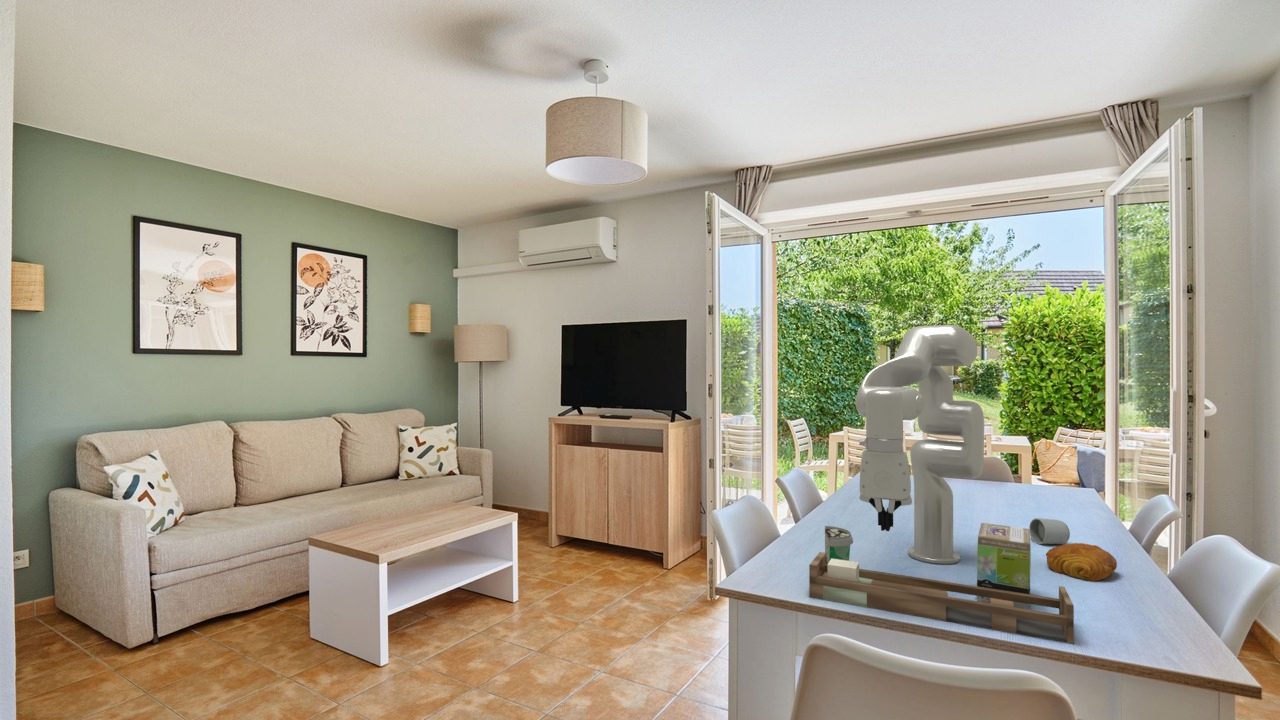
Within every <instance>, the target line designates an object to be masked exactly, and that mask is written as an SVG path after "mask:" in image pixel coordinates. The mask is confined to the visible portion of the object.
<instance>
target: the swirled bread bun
mask: <svg viewBox="0 0 1280 720" xmlns="http://www.w3.org/2000/svg"><path fill="white" fill-rule="evenodd" d="M1045 556H1046V565H1047V566H1048V568H1050V569H1051V570H1052V571H1053V572H1055V573H1057V574H1061V575H1067V576H1069V577H1071V578H1076V579H1080V580H1085V581H1089V582H1097V581H1100V580H1105V579H1106V578H1109V576H1111V574H1113V573H1114V572H1115V571H1116V569H1117V568H1118V567H1117V566H1118V561H1117V559H1116V557H1114V555H1112V554H1111V552H1108V551H1106V550H1104V549H1103V548H1101V547H1100V546H1098V545H1095V544H1093V545H1092V544H1088V543H1083V542H1081V543H1080V542H1079V543H1077V542H1075V543H1065V544H1060V545H1058V546H1054V547H1052V548H1050V549H1048V551H1047V552H1046V553H1045Z"/></svg>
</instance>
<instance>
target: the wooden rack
mask: <svg viewBox="0 0 1280 720" xmlns="http://www.w3.org/2000/svg"><path fill="white" fill-rule="evenodd" d="M808 569H809V571H808V572H809V573H808V574H809V575H808V579H809V580H808V582H809V585H808V586H809V587H808V589H809V592H808V593H809V595H808V596H809V597H808V598H813V599H818V600H824V601H825V600H826V601H832V602H836V603H842V604H848V605H854V606H858V607H863V608H869V609H870V608H871V609H874V610H875V609H876V610H882V611H887V612H891V613H892V612H893V613H898V614H904V615H910V616H915V617H920V618H926V619H932V620H938V621H944V622H949V623H955V624H960V625H966V626H971V627H977V628H983V629H988V630H994V631H1001V632H1005V633H1009V634H1010V633H1011V634H1015V635H1022V636H1026V637H1033V638H1039V639H1043V640H1044V639H1045V640H1049V641H1053V642H1054V641H1055V642H1060V643H1061V642H1062V643H1066V644H1072V645H1074V644H1075V623H1074V622H1075V621H1074V620H1075V618H1074V617H1075V616H1074V615H1075V614H1074V613H1075V609H1074V608H1075V607H1074V604H1073V601H1072V599H1071V597H1070V594H1069V593H1068V591H1067V589H1066V587H1065V586H1060V585H1058V598H1057V597H1050V596H1043V595H1036V594H1031V593H1030V594H1024V593H1018V592H1011V591H1004V590H998V589H991V588H984V587H978V586H977V585H970V584H964V583H957V582H950V581H944V580H938V579H930V578H925V577H924V578H923V577H916V576H910V575H904V574H897V573H890V572H884V571H876V570H870V569H863V568H859V581H858V582H855V581H849V580H843V579H836V578H830V577H828V564H826V553H825V552H821V551H820V552H819V553H818V554H817V555H815V558H814V559H813V560H812V561H811V562H810V564H809V567H808ZM948 592H949V593H950V592H952V593H957V594H962V595H963V594H964V595H970V596H976V597H977V596H982V597H988V598H990V603H986V602H980V601H977V600H973V599H967V598H960V597H954V596H948ZM1013 601H1014V602H1020V603H1026V604H1030V605H1034V606H1041V607H1047V608H1051V609H1052V608H1053V609H1058V613H1053V612H1047V611H1041V610H1035V609H1030V610H1029V609H1023V608H1017V607H1014V605H1013Z"/></svg>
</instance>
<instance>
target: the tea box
mask: <svg viewBox="0 0 1280 720" xmlns="http://www.w3.org/2000/svg"><path fill="white" fill-rule="evenodd" d="M976 552H977V556H976V557H977V558H976V559H977V564H976V565H977V567H976V568H977V569H976V570H977V571H976V572H977V573H976V574H977V575H976V586H978V587H984V588H991V589H998V590H1004V591H1011V592H1018V593H1024V594H1031V567H1032V565H1031V563H1032V562H1031V557H1032V556H1031V555H1032V554H1031V553H1032V552H1031V536H1030V531H1029V528H1025V527H1018V526H1009V525H1002V524H994V523H988V522H987V523H984V522H981V523H980V527H979V532H978V536H977V551H976ZM976 601H980V602H986V603H990V598H988V597H982V596H976ZM1013 605H1014V607H1017V608H1023V609H1029V610H1031V609H1030V606H1031V604H1026V603H1020V602H1014V601H1013Z"/></svg>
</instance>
